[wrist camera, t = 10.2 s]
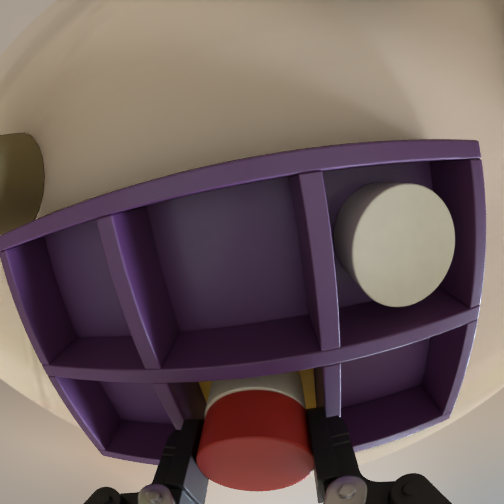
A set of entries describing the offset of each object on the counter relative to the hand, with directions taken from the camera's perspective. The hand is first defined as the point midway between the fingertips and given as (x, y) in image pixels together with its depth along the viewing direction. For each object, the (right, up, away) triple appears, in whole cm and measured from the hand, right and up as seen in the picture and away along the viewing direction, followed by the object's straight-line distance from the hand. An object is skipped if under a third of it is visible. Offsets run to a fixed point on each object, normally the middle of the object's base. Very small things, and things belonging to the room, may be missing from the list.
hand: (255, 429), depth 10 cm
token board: (0, +4, +3) cm, 5 cm away
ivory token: (+5, +8, +1) cm, 10 cm away
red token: (0, 0, 0) cm, 0 cm away
